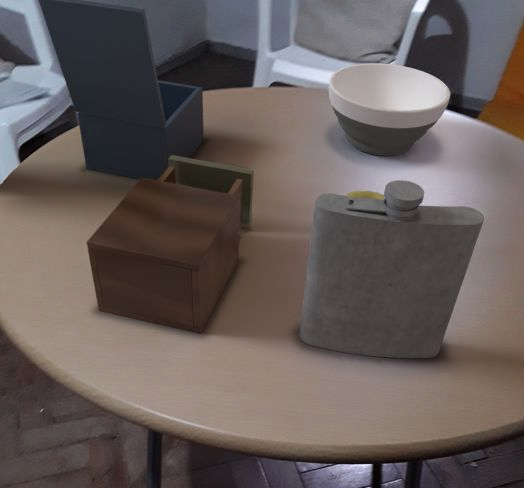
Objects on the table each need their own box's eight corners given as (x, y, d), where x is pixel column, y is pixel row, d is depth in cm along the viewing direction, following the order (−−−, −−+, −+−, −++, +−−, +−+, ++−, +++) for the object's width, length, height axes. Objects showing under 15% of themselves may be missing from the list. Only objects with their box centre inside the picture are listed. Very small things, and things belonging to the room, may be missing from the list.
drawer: (177, 201, 89) (174, 150, 84) (254, 216, 88) (256, 165, 82) (135, 260, 79) (128, 206, 74) (221, 278, 77) (221, 224, 72)
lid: (40, -6, 76) (37, -3, 76) (144, 8, 74) (142, 12, 74) (77, 108, 90) (75, 111, 90) (166, 123, 88) (164, 127, 88)
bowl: (423, 180, 99) (438, 122, 92) (306, 153, 104) (312, 95, 97) (445, 130, 112) (459, 76, 106) (340, 108, 117) (348, 55, 110)
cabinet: (147, 242, 84) (141, 177, 77) (238, 261, 82) (239, 195, 75) (98, 310, 73) (86, 241, 67) (200, 333, 71) (198, 265, 65)
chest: (128, 126, 108) (122, 74, 101) (203, 140, 105) (202, 87, 99) (86, 169, 97) (77, 113, 90) (169, 184, 94) (165, 128, 88)
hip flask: (437, 340, 72) (489, 184, 58) (440, 364, 70) (496, 207, 56) (300, 325, 73) (319, 168, 59) (297, 349, 70) (317, 190, 56)
